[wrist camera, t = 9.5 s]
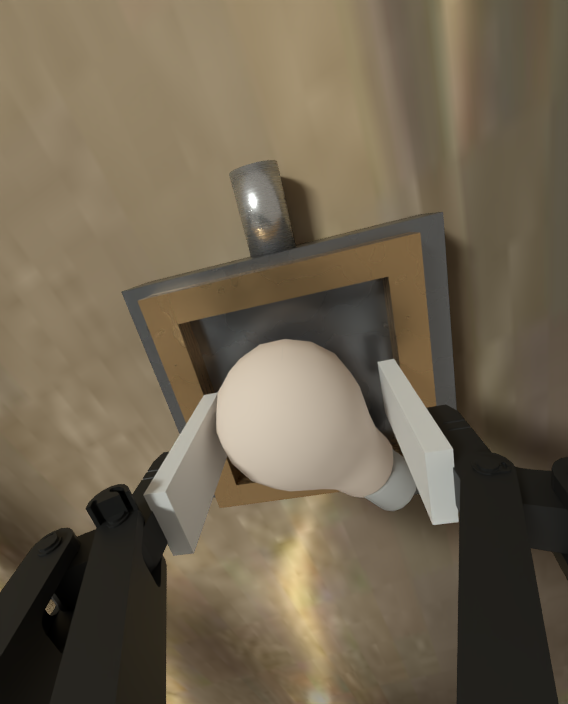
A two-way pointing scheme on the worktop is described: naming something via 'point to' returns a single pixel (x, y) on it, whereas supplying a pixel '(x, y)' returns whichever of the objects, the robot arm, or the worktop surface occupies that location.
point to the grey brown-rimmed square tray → (302, 312)
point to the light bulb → (307, 426)
